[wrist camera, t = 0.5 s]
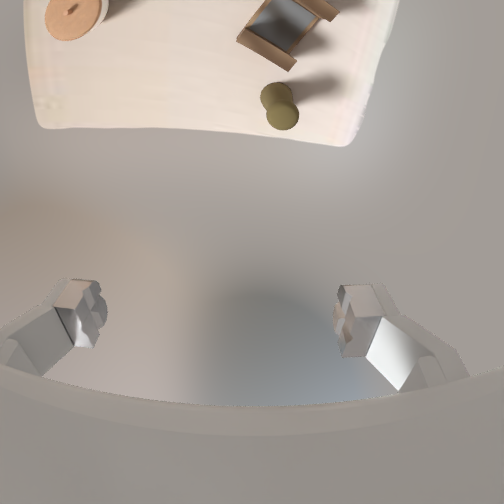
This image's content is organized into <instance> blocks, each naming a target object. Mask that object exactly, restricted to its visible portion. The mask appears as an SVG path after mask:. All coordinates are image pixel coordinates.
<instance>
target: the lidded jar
mask: <svg viewBox="0 0 504 504" xmlns="http://www.w3.org/2000/svg"><path fill="white" fill-rule="evenodd" d="M108 6H109V1H108V0H51V1H50V2H49V4H48V6H47V9H46V13H45V24H46V28H47V30H48V32H49V33H50V34H51V35H52V36H53V37H54V38H56V39H58V40H62V41H70V40H74V39H77V38H79V37H81V36H83V35H85V34H87V33H89V32H91V31H92V30H94V29H95V28H96V27H97V26H98V25H99V24H100V23H101V22H102V21H103V19H104V18H105V16H106V14H107V11H108Z"/></svg>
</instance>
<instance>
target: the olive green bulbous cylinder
mask: <svg viewBox="0 0 504 504" xmlns="http://www.w3.org/2000/svg"><path fill="white" fill-rule="evenodd" d="M260 99H261V102H262V104H263V106H264V107H265V109H266V110H267V113H266V114H267V120H268V122H269V124H270V125H271V126H272V127H274V128H276V129H278V130H288V129H291V128H292V127H294V126H295V125H296V123H297V122H298V119H299V111H298V109H297V107H296V105H295V104H294V103H293V96H292V92H291V90H290V88H289V87H288V86H286V85H284V84H283V83H271V84H269V85H267V86H266V87H264V89H263V90H262V92H261V95H260Z"/></svg>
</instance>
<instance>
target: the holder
mask: <svg viewBox="0 0 504 504" xmlns="http://www.w3.org/2000/svg"><path fill="white" fill-rule="evenodd" d="M338 13H339V11H338V10H337V9H335V8H334V7H333V6H331V5H330V4H329V3H327V2H326V1H324V0H265V1H264V3H263V4H262V5H261V6H260V8H259V9H258V10H257V11H256V13H255V14H254V15H253V17H252V18H251V19H250V20H249V22H248V23H247V24H246V26H245V27H244V28H243V30H242V31H241V32H240V34H239V35H238V37H237V38H236V39H237V40H236V42H238V43H240V44H242V45H244V46H246V47H247V48H249V49H251V50H253V51H254V52H256V53H258V54H260V55H261V56H263V57H265V58H266V59H268V60H270V61H271V62H273V63H275V64H276V65H278V66H279V67H281V68H283V69H284V70H286V71H287V72H289V70H290V69H291V68H292V67H293V65H294V64H295V63H296V62H297V60H296V59H294V58H293V57H291V56H290V55H289V53H290V52H291V51H292V50H293V49H294V47H295V46H296V45H297V44H298V42H299V41H300V40H301V39H302V38H303V37H304V35H305V34H306V33H307V32H308V31H309V29H310V28H311V27H312V26H313V25H314V24H315V23H316V21H317V20H318V19H319V18H322V19H326V20H328V21H329V22H331V21H332V20H333V19H334V18H335V17H336V15H337V14H338Z"/></svg>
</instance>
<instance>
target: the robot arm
mask: <svg viewBox="0 0 504 504" xmlns="http://www.w3.org/2000/svg"><path fill="white" fill-rule="evenodd" d="M100 292H101V288H100V285H99V283H98V282H97V281H95V280H82V279H70V278H62V279H60V280H59V281H58V282H57V284H56V285H55V286H54V288H53V289H52V290H51V292H50V293H49V295H48V296H47V297H46V299H45V300H44V301H43V303H42V304H41V305H37V306H36V307H34V308H32V309H30V310H29V311H27V312H26V313H24V314H22V315H21V316H19V317H17V318H16V319H14V320H13V321H11V322H9V323H8V324H6V325H5V326H3V327H2V328H0V504H504V366H501V367H499V368H496V369H493V370H490V371H487V372H484V373H480V374H477V375H474V376H471V377H470V375H469V374H468V372H467V370H466V368H465V366H464V364H463V362H462V360H461V358H460V356H459V354H458V352H457V350H456V349H454V348H453V347H451V346H450V345H449V344H447V343H446V342H444V341H443V340H441V339H440V338H438V337H437V336H436V335H434V334H433V333H431V332H430V331H428V330H427V329H425V328H424V327H422V326H421V325H419V324H418V323H416V322H415V321H413V320H412V319H410V318H409V317H407V316H406V315H401V314H400V312H399V311H398V309H397V307H396V305H395V303H394V301H393V299H392V297H391V295H390V294H389V292H388V290H387V288H386V286H385V285H384V284H383V283H377V284H368V285H340V287H339V289H338V293H337V296H338V299H339V302H338V303H337V304H336V305H335V306H334V311H333V326H334V331H335V333H336V334H337V335H339V340H338V345H339V349H340V353H341V356H342V358H344V357H362V356H366V358H367V359H368V360H369V361H370V362H371V363H372V364H373V365H374V366H375V367H376V368H377V369H378V370H379V371H380V372H381V373H382V375H383V376H385V378H386V379H387V380H388V381H389V382H390V383H391V384H392V385H393V386H394V387H395V388H396V389H397V390H398V392H397V394H394V395H388V396H382V397H375V398H369V399H361V400H353V401H344V402H335V403H325V404H312V405H294V406H249V407H248V406H215V405H199V404H185V403H175V402H166V401H158V400H149V399H143V398H135V397H129V396H123V395H117V394H112V393H107V392H101V391H96V390H92V389H86V388H82V387H78V386H74V385H70V384H66V383H62V382H58V381H54V380H51V379H47V378H44V377H42V376H43V375H44V374H45V373H46V372H47V371H48V370H49V369H50V368H51V367H53V365H55V364H56V363H57V362H58V361H59V360H60V359H61V358H62V357H63V356H65V355H66V354H67V353H68V352H69V351H70V350H71V349H72V348H73V347H74V346H80V347H88V348H94V346H95V343H96V341H97V339H98V337H99V335H100V334H99V331H98V329H100V328H101V327H103V326H104V324H105V322H106V320H107V313H108V312H107V305H106V302H105V300H104V299H103V298H102V297H101V296H100Z"/></svg>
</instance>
